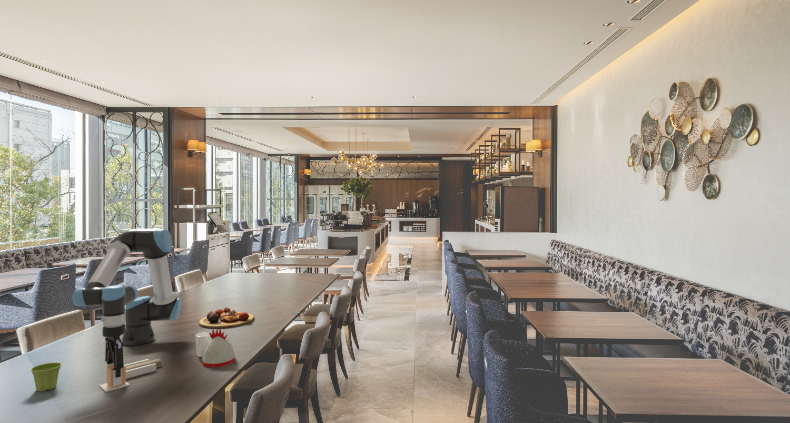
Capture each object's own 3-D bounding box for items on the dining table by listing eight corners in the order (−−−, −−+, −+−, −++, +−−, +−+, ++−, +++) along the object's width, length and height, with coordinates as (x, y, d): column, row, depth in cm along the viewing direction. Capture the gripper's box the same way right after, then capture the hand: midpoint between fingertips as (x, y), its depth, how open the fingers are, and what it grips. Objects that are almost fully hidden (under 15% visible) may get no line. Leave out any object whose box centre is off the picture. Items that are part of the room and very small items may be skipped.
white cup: (206, 358, 198) (206, 337, 198) (191, 357, 200) (191, 336, 200) (216, 352, 206) (216, 332, 206) (202, 351, 207) (202, 331, 207)
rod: (123, 374, 180) (123, 367, 180) (159, 365, 190) (159, 358, 190) (125, 376, 178) (125, 369, 178) (161, 366, 188) (161, 360, 188)
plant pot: (42, 383, 169) (42, 362, 169) (67, 383, 170) (67, 361, 170) (24, 394, 160) (24, 371, 160) (50, 393, 161) (50, 370, 161)
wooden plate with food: (264, 320, 266) (264, 307, 266) (219, 332, 240) (219, 318, 240) (233, 313, 284) (233, 301, 284) (188, 324, 257) (188, 310, 257)
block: (107, 384, 167) (106, 366, 167) (121, 380, 171) (121, 363, 171) (111, 387, 164) (111, 369, 164) (125, 383, 168) (125, 366, 168)
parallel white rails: (117, 373, 180) (117, 366, 180) (148, 365, 189) (148, 358, 189) (124, 379, 174) (124, 371, 174) (156, 370, 183) (155, 363, 183)
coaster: (99, 386, 167) (99, 385, 167) (122, 380, 173) (122, 378, 173) (105, 392, 161) (105, 390, 161) (129, 385, 167) (129, 384, 167)
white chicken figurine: (211, 356, 201) (210, 325, 201) (239, 356, 200) (239, 325, 200) (196, 367, 187) (196, 333, 187) (226, 367, 186) (226, 334, 186)
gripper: (95, 322, 170) (95, 378, 170) (110, 331, 158) (111, 392, 158) (116, 318, 176) (117, 373, 176) (133, 327, 163) (133, 386, 164)
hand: (114, 382), depth 167 cm, fingers open, 7 cm apart
